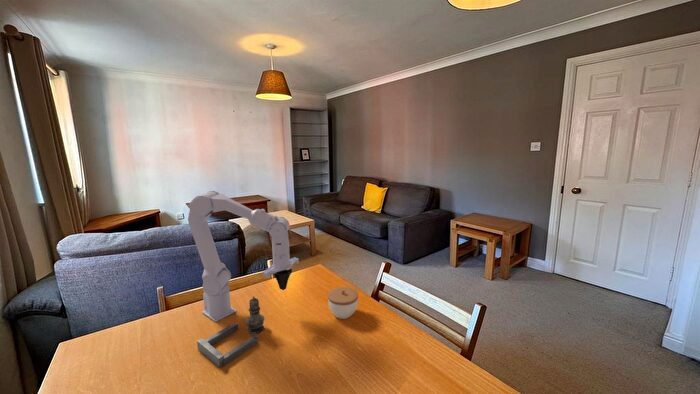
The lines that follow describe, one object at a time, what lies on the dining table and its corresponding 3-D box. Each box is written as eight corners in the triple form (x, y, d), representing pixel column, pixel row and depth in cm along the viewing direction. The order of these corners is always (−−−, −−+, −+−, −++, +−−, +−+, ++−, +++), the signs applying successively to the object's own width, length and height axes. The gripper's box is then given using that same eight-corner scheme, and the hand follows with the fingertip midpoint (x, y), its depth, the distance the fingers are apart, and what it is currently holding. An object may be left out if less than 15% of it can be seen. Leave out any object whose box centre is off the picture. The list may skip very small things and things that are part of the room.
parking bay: (197, 349, 85) (196, 340, 85) (235, 327, 95) (235, 319, 95) (219, 368, 78) (218, 358, 78) (258, 342, 88) (257, 334, 88)
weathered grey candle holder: (259, 336, 91) (257, 302, 89) (242, 333, 92) (240, 300, 90) (268, 325, 97) (266, 292, 94) (252, 322, 98) (250, 290, 95)
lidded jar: (358, 306, 108) (359, 283, 106) (356, 324, 97) (356, 299, 95) (330, 304, 109) (330, 281, 107) (325, 322, 98) (325, 297, 97)
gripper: (271, 262, 91) (273, 301, 94) (304, 249, 103) (305, 283, 106) (258, 257, 95) (260, 294, 98) (290, 244, 107) (292, 278, 110)
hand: (282, 288), depth 102 cm, fingers closed
